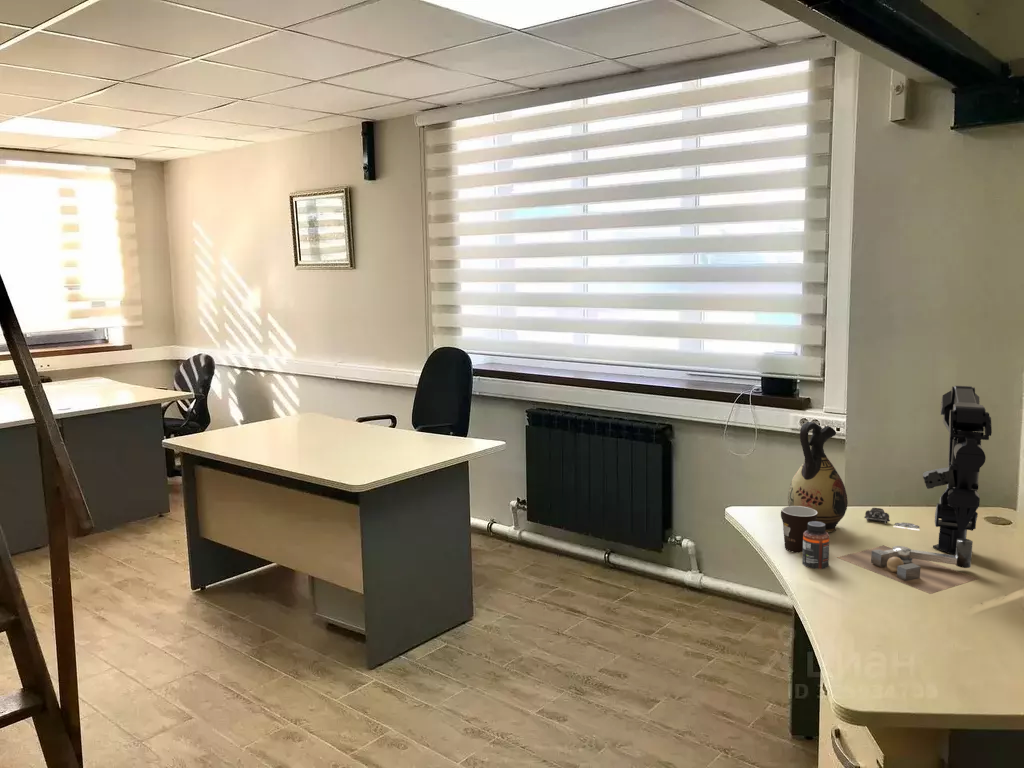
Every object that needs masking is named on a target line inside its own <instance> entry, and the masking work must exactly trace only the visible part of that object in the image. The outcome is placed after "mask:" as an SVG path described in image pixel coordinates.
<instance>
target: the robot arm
mask: <svg viewBox="0 0 1024 768" xmlns="http://www.w3.org/2000/svg"><path fill="white" fill-rule="evenodd" d="M980 400H981V399H980V396H979V395H978V394H977V393H976V388H975V387H973V386H971V385H954V386H951V389H950V391H947V392H946V393H944V394H943V395H942V396H941V401H940V415H941V416H942V423H943V425H944V426H945V428H946V430H947V431H948V452H947V454H948V455H947V458H948V459H947V467H940V468H935V469H932V470H927V471H924V472H923V473H922V479H923V481H924V485H925V486H926V489H928V490H930V489H934V488H935V487H941V486H945V485H946V489H945V491H944V492H943V493H942V494H941V496H940V497H939V502H937V503H936V507H935V511H934V524H935V525H934V526H935V528H939V533H938V542H937V543H938V544H934V545H932V548H933V549H936V550H939V551H942V552H945V553H947V554H950V555H954V556H956V545H957V539H959V538H963V539H967V533H968V531H972V532H973V531H974V530H976V526H977V520H978V512H977V510H978V509H979V507H980V504H981V503H980V502H981V501H980V500H981V496H980V494H979V493H978V490H979V478H980V477H979V475H980V469H981V468H982V467H983V466H984V465H985V463H986V458H987V457H986V454H985V453H986V452H985V451H984V449H983V446H982V440H983V441H989V440H990V437H991V436H992V433H993V432H992V431H993V430H992V429H993V428H992V417H991V416H990V413H989V411H986V407H985V406H984V405H982V404H980Z"/></svg>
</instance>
